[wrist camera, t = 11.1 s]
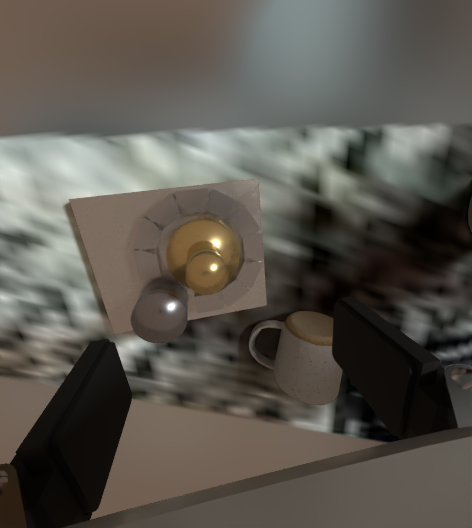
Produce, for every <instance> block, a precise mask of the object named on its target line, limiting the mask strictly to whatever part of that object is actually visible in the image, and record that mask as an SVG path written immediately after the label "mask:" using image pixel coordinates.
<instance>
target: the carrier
mask: <svg viewBox="0 0 472 528" xmlns="http://www.w3.org/2000/svg"><path fill="white" fill-rule="evenodd" d="M69 201H70V204H71V207H72V210H73V213H74V216H75V219H76V222H77V225H78V228H79V231H80V234H81V237H82V240H83V243H84V246H85V249H86V252H87V255H88V258H89V261H90V264H91V267H92V270H93V273H94V275H95V278H96V281H97V284H98V287H99V290H100V293H101V296H102V299H103V302H104V305H105V308H106V311H107V314H108V317H109V320H110V323H111V326H112V329H113V332H114V334H118V333H123V332H129V331H134V332H135V333H136V334H137V335H138V336H139V337H140V338H142V339H144V340H146V341H148V342H152V343H165V342H169V341H172V340H174V339H176V338H177V337H178V336H180V335H181V334H182V333H183V331H184V330H185V328H186V325H187V320H192V319H197V318H203V317H208V316H213V315H218V314H224V313H229V312H234V311H239V310H245V309H250V308H255V307H261V306H266V305H267V302H266V287H265V272H264V250H263V235H262V225H261V210H260V194H259V179H251V180H242V181H233V182H223V183H214V184H205V185H196V186H187V187H178V188H169V189H159V190H150V191H141V192H132V193H123V194H114V195H105V196H95V197H86V198H77V199H69ZM198 218H207V219H212V220H215V221H217V222H219V223H221V224H223V225H224V226H225V227H226V228H227V229H228V230H229V231H230V232H231V233H232V234H233V236H234V237H235V239H236V241H237V243H238V246H239V252H240V259H239V264H238V267H237V269H236V271H235V273H234V275H233V276H232V277H231V278H230V279H229V280H228V281H227V283H226V284H225V286H224V287H223V288H222V289H221V290H220V291H219V292H217V293H215V294H212V295H201V294H198V293H196V292H194V291H193V290H192V289H190V288H188V287H186V286H184V285H182V284H181V283H179V282H178V281H177V280H176V279H175V278H174V277H173V276H172V274H171V272H170V270H169V268H168V265H167V261H166V250H167V246H168V243H169V241H170V238H171V236H172V235H173V233H174V232H175V230H176V229H177V228H178V227H179V226H181V225H182V224H184V223H185V222H187V221H190V220H193V219H198Z"/></svg>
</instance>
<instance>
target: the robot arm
mask: <svg viewBox="0 0 472 528" xmlns="http://www.w3.org/2000/svg"><path fill="white" fill-rule="evenodd" d="M468 223H469V227H470V230H471V232H472V196H471V199H470V203H469V209H468ZM332 355H333V358H334V360H335V361H336V363H337V364H338V365H339V366H340V368H341V369H342V370H343V372H344V373H345V374H346V375H347V377H348V378H349V379H350V381H351V382H352V383H353V385H354V386H355V387H356V388H357V390H358V391H359V392H360V394H361V395H362V396H363V397H364V399H365V400H366V401H367V403H368V404H369V405H370V406H371V408H372V409H373V410H374V412H375V413H376V414H377V416H378V417H379V418H380V419H381V421H382V422H383V423H384V425H385V426H386V427H387V428H388V430H389V431H390V432H391V433H392V434H393V435H395V436H398V437H399V438H400V441H395V442H391V443H387V444H383V445H379V446H375V447H371V448H367V449H363V450H359V451H355V452H351V453H347V454H343V455H339V456H334V457H330V458H327V459H322V460H318V461H314V462H311V463H306V464H302V465H299V466H295V467H291V468H287V469H283V470H279V471H275V472H271V473H267V474H263V475H259V476H255V477H251V478H247V479H243V480H239V481H236V482H232V483H227V484H224V485H220V486H216V487H212V488H208V489H204V490H201V491H197V492H193V493H189V494H185V495H181V496H177V497H173V498H170V499H166V500H162V501H158V502H154V503H150V504H147V505H143V506H139V507H135V508H132V509H127V510H124V511H120V512H116V513H113V514H109V515H106V516H103V517H99V518H96V519H92V520H90V518H91V515H92V512H94V511H96V510H97V509H98V507H99V505H100V502H101V498H102V495H103V492H104V489H105V486H106V482H107V479H108V476H109V472H110V469H111V466H112V463H113V460H114V456H115V453H116V450H117V447H118V443H119V440H120V437H121V434H122V430H123V427H124V424H125V421H126V417H127V414H128V411H129V408H130V404H131V401H132V393H131V390H130V387H129V384H128V381H127V378H126V375H125V372H124V369H123V366H122V363H121V360H120V357H119V354H118V351H117V349H116V346H115V343H114V342H110V341H109V340H108V339H105V340H99V341H93V342H91V343H90V344H89V345H88V347H87V348H86V349H85V351H84V352H83V354H82V355H81V357H80V358H79V360H78V361H77V363H76V364H75V366H74V367H73V369H72V370H71V372H70V373H69V374H68V376H67V377H66V379H65V380H64V382H63V383H62V385H61V386H60V388H59V389H58V391H57V392H56V394H55V395H54V396H53V398H52V400H51V401H50V402H49V404H48V405H47V407H46V408H45V410H44V411H43V413H42V414H41V416H40V417H39V419H38V420H37V422H36V423H35V424H34V426H33V427H32V429H31V430H30V432H29V433H28V435H27V436H26V438H25V439H24V440H23V442H22V443H21V445H20V446H19V448H18V450H17V451H16V455H15V457H14V458H13V460H12V461H11V463H10V464H7V463H6V464H0V528H472V366H468V365H462V364H453V365H450V366H447V367H446V368H445V369H444V368H443V367H441V366H440V365H439V363H440V360H439V359H438V358H437V357H435V356H434V355H432V354H431V353H430V352H428V351H427V350H426V349H424V348H423V347H421V346H420V345H419V344H417V343H416V342H415V341H413V340H412V339H410V338H409V337H408V336H406V335H405V334H404V333H402V332H401V331H399V330H398V329H397V328H395V327H394V326H393V325H391V324H390V323H388V322H387V321H386V320H384V319H383V318H382V317H380V316H379V315H378V314H376V313H375V312H373V311H372V310H371V309H369V308H368V307H367V306H365V305H364V304H362V303H361V302H360V301H358V300H357V299H356V298H354V297H346V298H340V299H338V301H337V302H336V303H335V304H334V319H333V339H332Z"/></svg>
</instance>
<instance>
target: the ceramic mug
mask: <svg viewBox="0 0 472 528" xmlns="http://www.w3.org/2000/svg"><path fill="white" fill-rule="evenodd" d="M264 328H277V329H282V330H281V335H280V339H279V345H278V350H277V353H276V358H275V360H271V359H269V358H267V357H265V356H263V355H262V354H260V353H259V352H258V351H257V350H256V348H255V340H256V336H257V335H258V334H259V332H260V331H261V329H264ZM332 339H333V318H331V317H329V316H327V315H324V314H321V313H318V312H312V311H298V312H295V313H292V314H290V315H289V316H288V317H287V318H286V320H285V321H284V322H281V321H277V320H267V321H263V322H260V323H259V324H257V325H256V326H255V327H254V328H253V330H252V332H251V335H250V339H249V350H250V353H251V354H252V356H253V357H254V358H255V360H257V361H258V362H259V363H260V364H262V365H264V366H265V367H267V368H270V369H272V370H273V374H274V379H275V381H276V383H277V384H278V386H279V387H280V388H281V389H282V390H283V391H284V392H285V393H286V394H287V395H289V396H290V397H292V398H294V399H296V400H298V401H300V402H303V403H306V404H310V405H325V404H328V403H330V402H332V401H334V400H335V399H336V397H337V396H338V393H339V387H340V382H341V377H342V372H343V370H342V369H341V368H340V366H339V365H338V364H337V363H336V361H335V360H334V358H333V355H332Z"/></svg>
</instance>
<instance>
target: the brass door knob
mask: <svg viewBox="0 0 472 528" xmlns="http://www.w3.org/2000/svg"><path fill="white" fill-rule="evenodd" d="M239 259H240V252H239V246H238V243H237V241H236V239H235V237H234V236H233V234H232V233H231V232H230V231H229V230H228V229H227V228H226V227H225V226H224V225H223V224H221V223H219V222H217V221H215V220H212V219H207V218H198V219H193V220H190V221H187V222H185V223H184V224H182V225H181V226H179V227H178V228H177V229H176V230H175V232H174V233H173V235H172V236H171V238H170V241H169V243H168V246H167V250H166V261H167V265H168V268H169V270H170V272H171V274H172V276H173V277H174V278H175V279H176V280H177V281H178V282H179V283H181V284H182V285H184V286H186V287H188V288H190V289H192V290H193V291H194V292H196V293H198V294H201V295H212V294H215V293H217V292H219V291H220V290H221V289H222V288H223V287H224V286H225V284H226V283H227V281H228V280H229V279H230V278H231V277H232V276H233V275H234V273H235V271H236V269H237V267H238V264H239Z"/></svg>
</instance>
